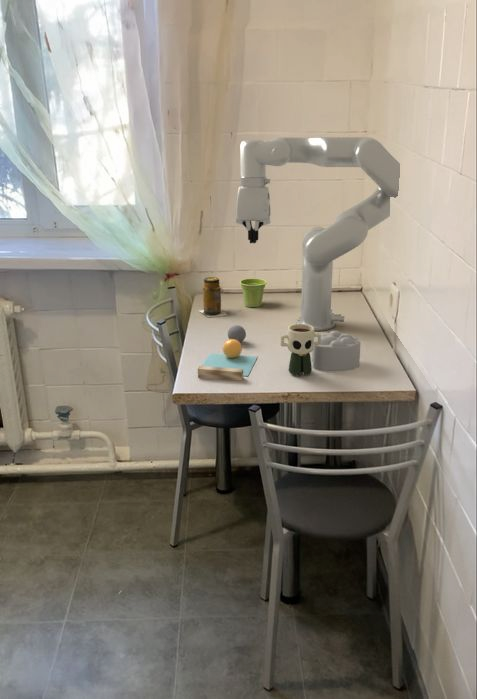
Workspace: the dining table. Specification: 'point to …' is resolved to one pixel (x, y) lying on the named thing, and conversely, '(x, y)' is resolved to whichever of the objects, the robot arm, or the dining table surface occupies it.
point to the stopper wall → (220, 373)
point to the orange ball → (232, 348)
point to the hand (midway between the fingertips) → (253, 242)
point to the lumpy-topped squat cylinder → (336, 352)
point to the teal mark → (231, 362)
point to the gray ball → (237, 333)
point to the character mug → (300, 347)
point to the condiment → (212, 298)
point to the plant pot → (253, 291)
